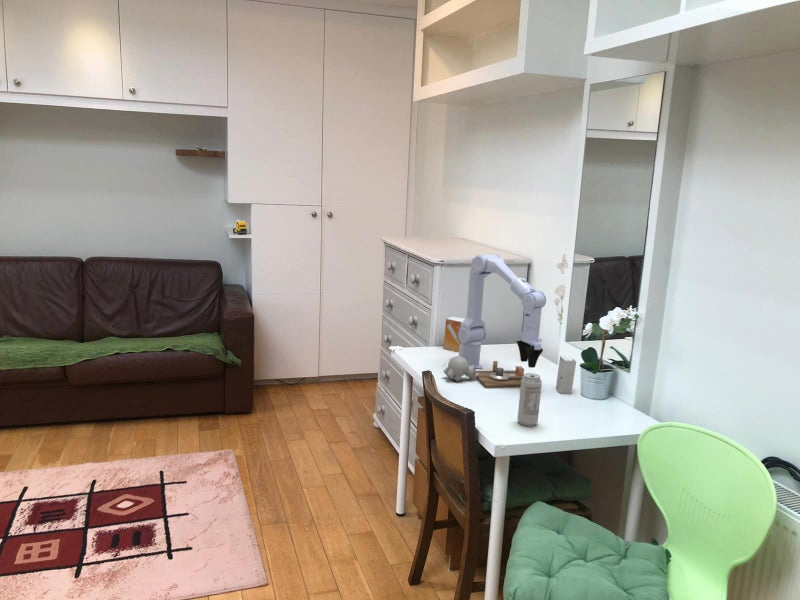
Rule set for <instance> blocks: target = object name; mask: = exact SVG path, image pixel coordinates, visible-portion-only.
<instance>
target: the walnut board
mask: <svg viewBox="0 0 800 600" xmlns="http://www.w3.org/2000/svg"><path fill="white" fill-rule="evenodd" d="M498 363H499V362H498V360H493V363H492V370H475V371H476V372H475V373H476V374H478V372H479V375H478V376H477V377H476V379H475V380H476V381H477V382H479V383H480V385H482V386H483V388H484V389H520V388H521V379H522V378H509V379H508V380H495V379H492V378H490V377H489V376H490V373H492V372H496V368H498V365H499V364H498ZM503 373H506V374H515V370H504V372H503Z"/></svg>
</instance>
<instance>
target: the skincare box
mask: <svg viewBox="0 0 800 600" xmlns="http://www.w3.org/2000/svg"><path fill="white" fill-rule="evenodd" d="M576 365H577V360H576V359H575V357H573V356H572V355H559V362H558V369H557V378H556V385H555V388H556V390H557V391H558V393H560V394H565V395H567V394H568V395H571V394H572V393H573V392H572V391H573V387H574V386H573V385H574V379H575V373H576Z"/></svg>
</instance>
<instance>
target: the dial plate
mask: <svg viewBox="0 0 800 600" xmlns="http://www.w3.org/2000/svg"><path fill="white" fill-rule="evenodd" d="M504 371H505V370H504V368H503V367H497V368H496V372H492V373H490V376H489V377H490V378H492V379H495V380H508V379H509V378H523V377H524V374H525V368H524V367H523V366H521V365H516V366H515V370H514V371H515V374H506V373H503V372H504Z"/></svg>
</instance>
